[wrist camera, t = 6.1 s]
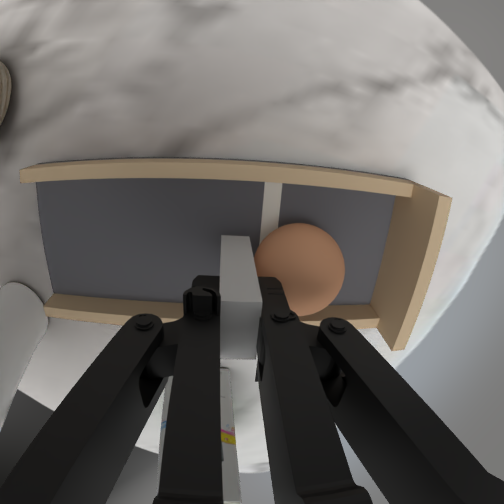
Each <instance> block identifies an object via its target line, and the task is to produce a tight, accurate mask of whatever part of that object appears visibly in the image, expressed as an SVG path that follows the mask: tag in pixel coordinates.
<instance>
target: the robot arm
mask: <svg viewBox="0 0 504 504" xmlns="http://www.w3.org/2000/svg"><path fill="white" fill-rule="evenodd" d="M183 314H184V315H183V317H182V318H180V319H178V320H176V321H172V322H166V323H162V319H160V318H159V317H158V316H156V315H153V314H147V313H144V314H138V315H135V316H132V317H131V318H130V319H129V320H128V321H127V322H126V323H125V324H124V325H123V326H122V328H121V329H120V330H119V331H118V332H117V334H116V335H115V336H114V337H113V338H112V340H111V341H110V342H109V343H108V344H107V346H106V347H105V348H104V349H103V351H102V352H101V353H100V354H99V355H98V357H97V358H96V359H95V360H94V362H93V363H92V364H91V365H90V367H89V368H88V369H87V370H86V372H85V373H84V374H83V375H82V377H81V378H80V379H79V380H78V382H77V383H76V384H75V385H74V387H73V388H72V389H71V391H70V392H69V393H68V394H67V396H66V397H65V398H64V400H63V401H62V402H61V404H60V405H59V406H58V407H57V409H56V410H55V411H54V413H53V414H52V415H51V417H50V418H49V420H48V421H47V422H46V423H45V425H44V426H43V427H42V429H41V430H40V432H39V433H38V434H37V436H36V437H35V438H34V440H33V441H32V443H31V444H30V445H29V447H28V448H27V450H26V451H25V453H24V454H23V455H22V457H21V458H20V460H19V461H18V463H17V464H16V466H15V467H14V468H13V470H12V471H11V473H10V474H9V476H8V477H7V479H6V480H5V482H4V483H3V485H2V486H1V488H0V504H105V503H106V501H107V499H108V497H109V495H110V493H111V491H112V489H113V487H114V485H115V483H116V481H117V479H118V477H119V475H120V473H121V471H122V469H123V467H124V465H125V464H126V462H127V460H128V457H129V456H130V454H131V452H132V449H133V448H134V446H135V444H136V442H137V440H138V438H139V436H140V434H141V432H142V430H143V428H144V426H145V424H146V422H147V420H148V418H149V417H150V415H151V413H152V411H153V409H154V407H155V405H156V403H157V401H158V399H159V397H160V395H161V393H162V391H163V389H164V388H165V386H166V384H167V382H168V379H169V376H173V379H172V386H171V392H170V399H169V406H168V414H167V421H166V429H165V437H164V445H163V453H162V462H161V472H160V482H159V490H158V494H157V496H156V497H155V498H154V501H153V504H224V501H223V482H222V451H221V403H220V359H256V354H257V356H258V362H257V370H256V377H255V382H258V383H259V390H260V398H261V406H262V413H263V421H264V428H265V436H266V443H267V450H268V458H269V465H270V472H271V480H272V487H273V494H274V501H275V504H373V503H372V500H371V497H370V495H369V493H368V491H367V490H366V489H365V488H364V487H361V486H358V485H356V484H355V483H354V481H353V478H352V475H351V472H350V469H349V466H348V462H347V459H346V456H345V453H344V450H343V447H342V444H341V441H340V438H339V435H338V432H337V428H336V425H337V427H338V428H339V430H340V431H341V433H342V434H343V436H344V437H345V439H346V440H347V442H348V443H349V445H350V446H351V448H352V449H353V451H354V452H355V454H356V455H357V457H358V458H359V460H360V461H361V463H362V464H363V466H364V467H365V469H366V470H367V472H368V473H369V474H370V476H371V477H372V479H373V480H374V482H375V483H376V485H377V486H378V488H379V489H380V491H381V492H382V493H383V495H384V496H385V498H386V499H387V501H388V502H389V504H504V481H502V480H501V479H499V478H497V477H495V476H493V475H492V474H490V473H488V472H487V471H486V470H485V469H484V467H483V466H482V465H481V464H480V463H479V462H478V460H477V459H476V458H475V457H474V456H473V455H472V454H471V453H470V451H469V450H468V449H467V448H466V447H465V446H464V445H463V444H462V442H461V441H459V439H458V438H457V437H456V436H455V435H454V433H453V432H452V431H451V430H450V429H449V428H448V427H447V426H446V425H445V424H444V423H443V421H442V420H441V419H440V418H439V417H438V416H437V415H436V414H435V413H434V411H433V410H432V409H431V408H430V407H429V406H428V405H427V404H426V403H425V402H424V401H423V399H422V398H421V397H420V396H419V395H418V394H417V393H416V392H415V391H414V390H413V389H412V388H411V387H410V385H409V384H408V383H407V382H406V381H405V380H404V379H403V378H402V377H401V376H400V375H399V374H398V372H397V371H396V370H395V369H394V368H393V367H392V366H391V365H390V364H389V363H388V362H387V361H386V360H385V359H384V358H383V357H382V355H381V354H380V353H379V352H378V351H377V350H376V349H375V348H374V347H373V346H372V345H371V344H370V343H369V342H368V341H367V340H366V339H365V338H364V336H363V335H362V334H361V333H360V332H359V331H358V330H357V329H356V328H355V327H354V326H353V325H352V324H351V323H349V322H348V321H346V320H344V319H342V318H337V317H328V318H326V319H323V320H322V321H321V322H320V326H315V325H310V324H306V323H303V322H301V321H300V320H299V317H298V315H297V314H296V313H295V312H293V311H292V310H290V308H289V305H288V302H287V299H286V296H285V293H284V290H283V287H282V284H281V282H280V281H279V280H278V279H277V278H275V277H258V276H257V272H256V267H255V262H254V257H253V252H252V247H251V242H250V238H249V236H230V235H221V256H220V276H210V275H198V276H197V277H196V278H194V279H193V281H192V286H191V288H189V289H188V290H186V291H185V292H184V294H183ZM335 424H336V425H335Z"/></svg>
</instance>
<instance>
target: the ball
mask: <svg viewBox="0 0 504 504" xmlns="http://www.w3.org/2000/svg"><path fill="white" fill-rule="evenodd" d="M254 262H255V267H256V272H257V276H258V277H275V278H277V279H278V280H279V281H280V282H281V284H282V287H283V290H284V293H285V296H286V299H287V302H288V305H289V308H290V310H292V311H293V312H295V313H296V314H297V315H298V316H305V315H310V314H314V313H316V312H319V311H320V310H322V309H324V308H325V307H327V306H328V305H329V304H330V303H331V302H332V301H333V300H334V299H335V297H336V296H337V295H338V293H339V291H340V289H341V287H342V284H343V281H344V276H345V264H344V258H343V255H342V252H341V250H340V248H339V246H338V244H337V243H336V241H335V240H334V239H333V238H332V237H331V236H330V235H329V234H328V233H327V232H325V231H324V230H322V229H320V228H318V227H316V226H313V225H310V224H305V223H293V224H288V225H284V226H281V227H279V228H277V229H275V230H274V231H272V232H271V233H269V234H268V235H267V236H266V237H265V238H264V239H263V241H262V242H261V243H260V245H259V247H258V248H257V251H256V253H255V256H254Z"/></svg>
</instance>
